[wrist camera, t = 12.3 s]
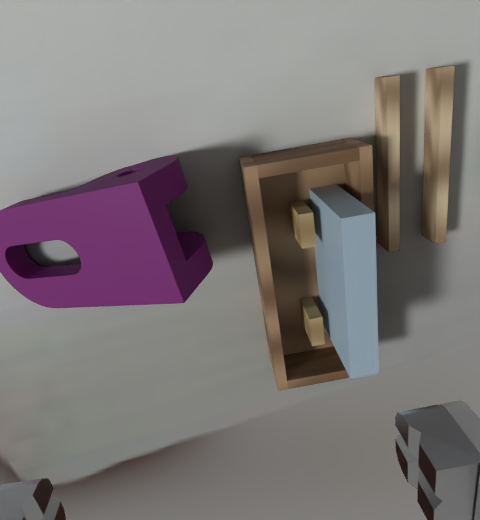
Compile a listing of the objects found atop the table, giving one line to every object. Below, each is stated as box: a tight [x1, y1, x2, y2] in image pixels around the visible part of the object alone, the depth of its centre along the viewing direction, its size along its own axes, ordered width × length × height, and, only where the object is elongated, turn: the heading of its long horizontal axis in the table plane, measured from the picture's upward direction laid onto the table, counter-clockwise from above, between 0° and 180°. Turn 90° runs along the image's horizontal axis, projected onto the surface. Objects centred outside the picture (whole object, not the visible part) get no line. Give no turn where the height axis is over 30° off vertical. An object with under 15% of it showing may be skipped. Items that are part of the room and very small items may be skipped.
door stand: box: [375, 66, 455, 252], centre depth 36 cm, size 15×5×2 cm, turn 9°
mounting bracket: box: [0, 156, 213, 308], centre depth 35 cm, size 9×8×18 cm
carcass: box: [239, 138, 374, 391], centre depth 37 cm, size 22×10×5 cm, turn 9°
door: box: [309, 184, 379, 379], centre depth 35 cm, size 14×3×9 cm, turn 9°
